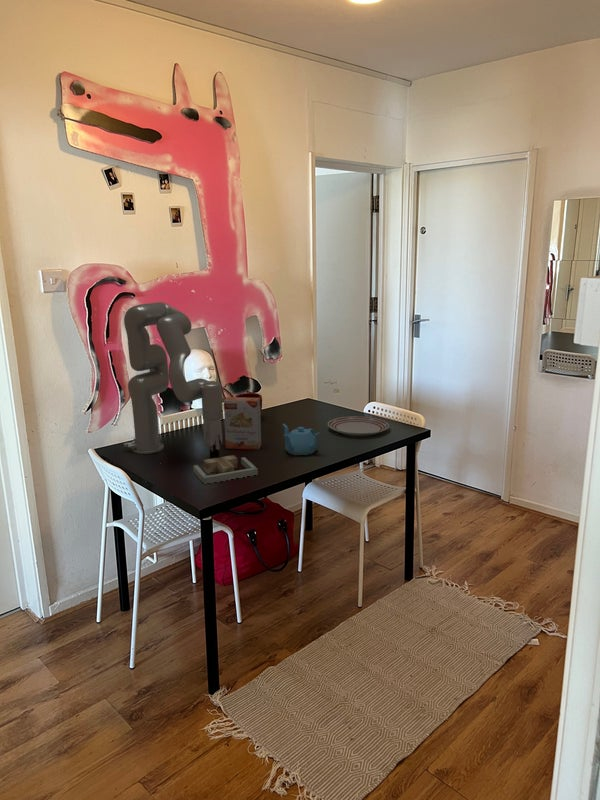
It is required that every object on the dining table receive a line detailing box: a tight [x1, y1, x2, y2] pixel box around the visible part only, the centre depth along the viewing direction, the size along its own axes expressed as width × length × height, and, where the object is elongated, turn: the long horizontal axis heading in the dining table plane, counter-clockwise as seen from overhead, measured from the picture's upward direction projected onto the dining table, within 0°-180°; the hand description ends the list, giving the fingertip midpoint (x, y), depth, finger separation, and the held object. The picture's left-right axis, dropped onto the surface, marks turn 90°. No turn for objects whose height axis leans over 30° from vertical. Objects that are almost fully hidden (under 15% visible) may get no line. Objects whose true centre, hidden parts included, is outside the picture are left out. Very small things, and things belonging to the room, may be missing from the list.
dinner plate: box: [327, 415, 390, 437], centre depth 270 cm, size 27×27×3 cm
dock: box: [193, 456, 259, 485], centre depth 221 cm, size 20×14×2 cm
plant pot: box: [234, 392, 263, 418], centre depth 287 cm, size 13×13×12 cm
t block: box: [202, 454, 239, 474], centre depth 222 cm, size 12×12×4 cm
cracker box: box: [223, 396, 262, 451], centre depth 247 cm, size 14×6×21 cm, turn 82°
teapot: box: [282, 423, 322, 456], centre depth 242 cm, size 15×15×10 cm
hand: (214, 460), depth 232 cm, fingers closed
